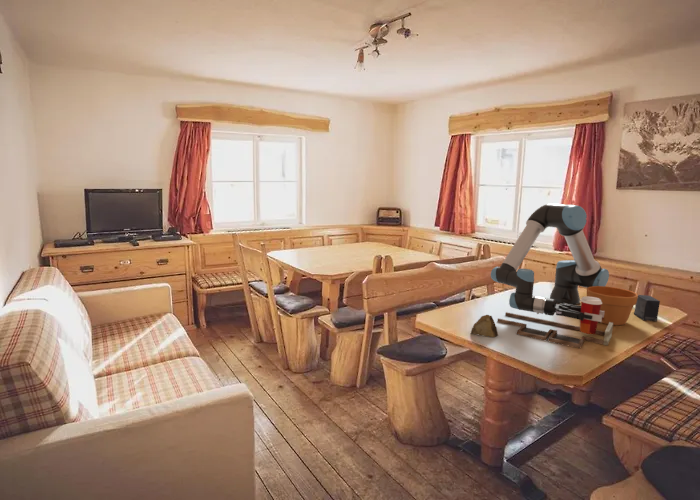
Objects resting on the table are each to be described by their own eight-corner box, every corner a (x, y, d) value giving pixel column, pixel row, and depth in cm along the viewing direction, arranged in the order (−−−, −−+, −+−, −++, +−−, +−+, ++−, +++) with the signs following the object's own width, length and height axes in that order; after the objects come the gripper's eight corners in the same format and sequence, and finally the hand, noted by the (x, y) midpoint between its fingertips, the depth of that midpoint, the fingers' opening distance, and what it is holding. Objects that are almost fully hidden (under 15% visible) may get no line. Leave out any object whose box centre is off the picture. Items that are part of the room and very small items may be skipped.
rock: (464, 329, 184) (484, 333, 177) (470, 311, 187) (490, 314, 179) (477, 339, 190) (497, 343, 182) (483, 322, 193) (502, 325, 185)
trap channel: (489, 328, 193) (490, 315, 192) (506, 314, 212) (507, 303, 211) (604, 353, 166) (606, 339, 165) (611, 335, 185) (613, 322, 184)
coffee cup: (596, 329, 187) (600, 297, 184) (600, 336, 179) (604, 302, 176) (575, 327, 189) (578, 295, 187) (578, 333, 182) (582, 300, 179)
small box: (658, 321, 204) (661, 301, 202) (643, 320, 205) (645, 300, 204) (647, 315, 214) (650, 295, 213) (633, 314, 216) (635, 294, 214)
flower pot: (591, 310, 220) (594, 283, 217) (638, 320, 205) (642, 291, 203) (577, 320, 205) (580, 290, 203) (627, 331, 191) (631, 299, 188)
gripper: (549, 308, 202) (604, 319, 188) (539, 319, 186) (598, 331, 173) (550, 293, 201) (606, 302, 187) (540, 303, 185) (600, 313, 171)
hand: (602, 316), depth 180 cm, fingers closed on coffee cup, 7 cm apart
